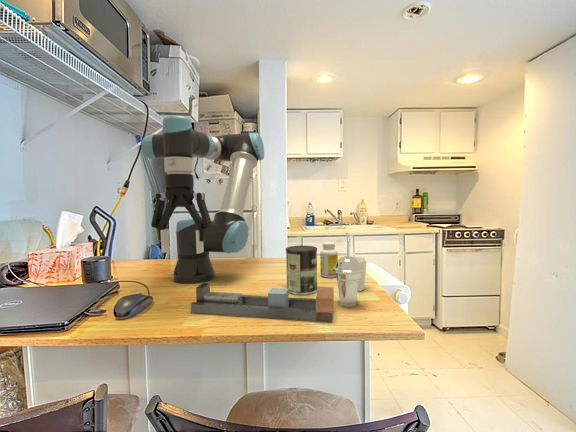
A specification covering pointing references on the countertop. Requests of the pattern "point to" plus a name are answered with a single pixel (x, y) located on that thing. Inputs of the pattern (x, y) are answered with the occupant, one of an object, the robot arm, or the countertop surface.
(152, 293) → the countertop surface
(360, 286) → the white cup
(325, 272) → the supplement bottle
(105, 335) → the countertop surface
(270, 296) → the block
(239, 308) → the channel
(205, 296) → the silver metal slider block
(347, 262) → the cup with straw
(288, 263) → the coffee can
